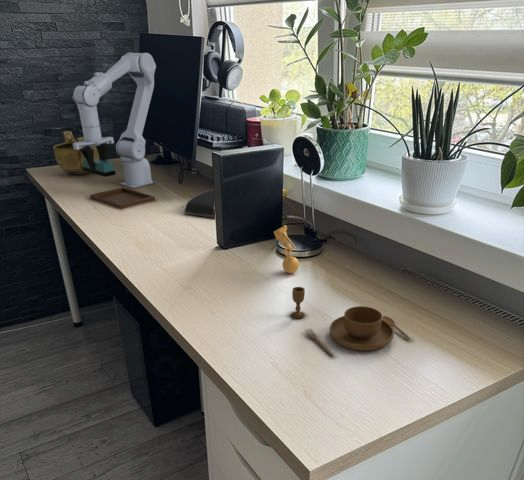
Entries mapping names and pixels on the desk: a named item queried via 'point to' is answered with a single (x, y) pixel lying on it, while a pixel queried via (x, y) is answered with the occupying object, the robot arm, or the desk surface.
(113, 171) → the teal long block
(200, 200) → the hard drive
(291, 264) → the figurine
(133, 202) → the tray
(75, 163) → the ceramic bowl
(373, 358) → the desk surface
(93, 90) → the robot arm
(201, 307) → the desk surface
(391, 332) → the place setting
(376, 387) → the desk surface
